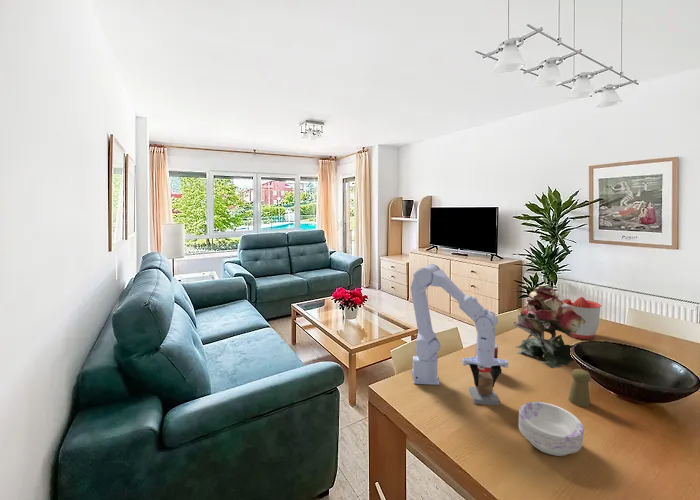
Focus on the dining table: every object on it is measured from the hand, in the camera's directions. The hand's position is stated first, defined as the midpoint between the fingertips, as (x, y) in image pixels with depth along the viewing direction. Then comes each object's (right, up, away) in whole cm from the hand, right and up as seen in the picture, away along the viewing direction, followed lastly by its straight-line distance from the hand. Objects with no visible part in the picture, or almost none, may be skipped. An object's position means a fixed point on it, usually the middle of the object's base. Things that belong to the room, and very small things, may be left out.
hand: (483, 385), depth 113 cm
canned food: (+9, -2, +19) cm, 21 cm away
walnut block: (0, -2, 0) cm, 2 cm away
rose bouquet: (+42, +1, +36) cm, 55 cm away
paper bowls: (+9, -7, -22) cm, 25 cm away
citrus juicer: (+70, +3, +54) cm, 89 cm away
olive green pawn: (+31, -5, -3) cm, 31 cm away
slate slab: (0, -5, +1) cm, 5 cm away
